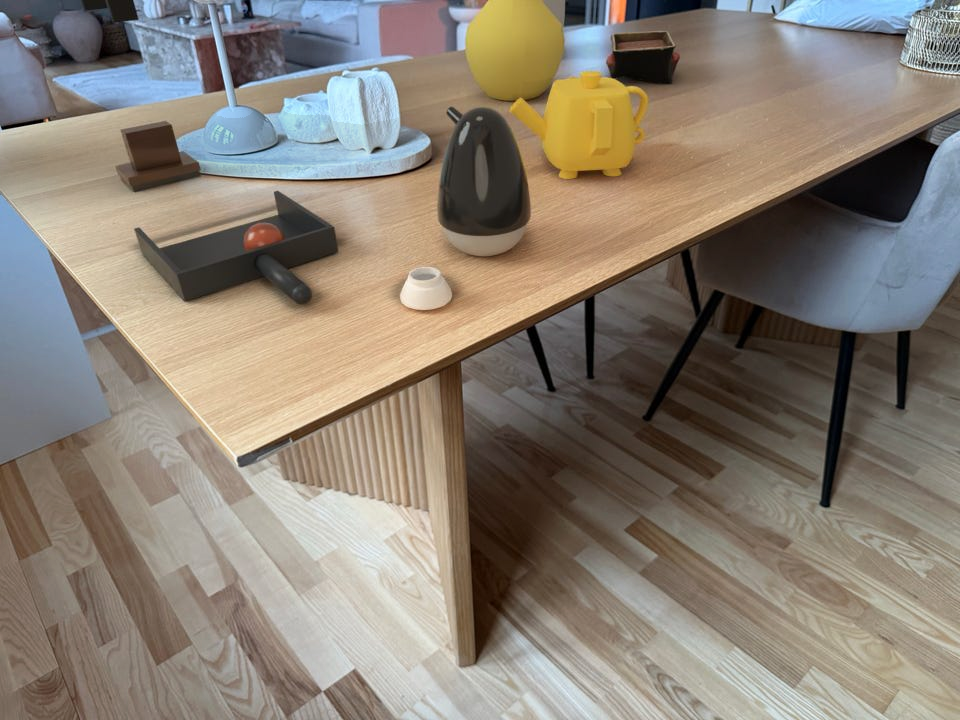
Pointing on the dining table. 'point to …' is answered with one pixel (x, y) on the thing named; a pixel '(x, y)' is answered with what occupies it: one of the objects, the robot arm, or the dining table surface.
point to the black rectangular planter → (643, 56)
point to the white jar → (425, 289)
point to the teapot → (587, 124)
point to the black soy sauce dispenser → (483, 184)
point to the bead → (262, 235)
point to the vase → (514, 48)
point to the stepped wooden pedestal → (154, 158)
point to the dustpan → (244, 254)
